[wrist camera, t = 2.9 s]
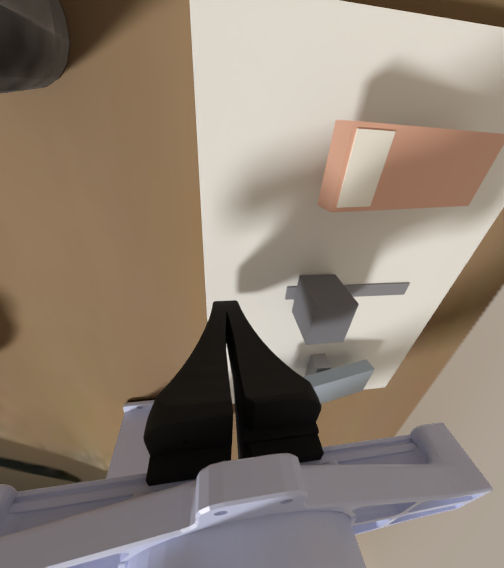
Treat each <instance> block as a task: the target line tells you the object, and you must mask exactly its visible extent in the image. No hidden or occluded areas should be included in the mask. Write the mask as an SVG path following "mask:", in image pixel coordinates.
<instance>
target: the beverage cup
mask: <svg viewBox="0 0 504 568" xmlns="http://www.w3.org/2000/svg"><path fill="white" fill-rule="evenodd" d="M69 44H70V41H69V35H68V29H67V23H66V17H65V14H64V12H63V9H62V7H61V4H60V2H59V0H0V93H8V92H15V91H23V90H28V89H36V88H43V87H47V86H48V85H50V84H51V83H53V82H54V81H56V80H57V79H59V77H60V75H61V74H62V72H63V70H64V68H65V66H66V64H67V61H68V52H69Z"/></svg>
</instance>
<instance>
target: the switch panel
mask: <svg viewBox="0 0 504 568" xmlns="http://www.w3.org/2000/svg"><path fill="white" fill-rule="evenodd" d="M190 16H191V34H192V52H193V70H194V88H195V106H196V124H197V142H198V160H199V178H200V196H201V214H202V232H203V250H204V268H205V286H206V304H207V322H208V320H209V317H210V314H211V310H212V305H213V302H214V301H231V300H237V301H238V303H239V305H240V308H241V310H242V312H243V313H244V315H245V317H246V319H247V320H248V322H249V323H250V325H251V326H252V328H253V329H254V331H255V332H256V333H257V335H258V336H259V337H260V338H261V340H262V341H263V342H264V343H265V344H266V345H267V346H268V348H269V349H270V350H271V351H272V352H273V353H274V354H275V355H276V356H277V357H279V358H280V359H281V360H282V361H283V362H284V363H285V364H286V365H287V366H289V367H290V368H291V369H292V370H294V371H295V372H296V373H298V374H299V375H301V376H302V377H304V376H307V375H311V374H314V373H318V372H322V371H325V370H329V369H333V368H336V367H340V366H344V365H347V364H351V363H354V362H358V361H362V360H365V359H367V361H368V362H369V363H370V364H371V365H372V366H373V368H374V369H375V370H374V372H373V373H372V375H371V377H370V379H369V380H368V382H367V384H366V386H365V387H364V389H372V388H381V387H386V385H387V383H388V382H389V380H390V379H391V377H392V376H393V374H394V373H395V371H396V370H397V368H398V367H399V365H400V364H401V362H402V361H403V359H404V358H405V356H406V355H407V353H408V352H409V350H410V348H411V347H412V345H413V344H414V342H415V341H416V339H417V338H418V336H419V335H420V333H421V332H422V330H423V329H424V327H425V326H426V324H427V323H428V321H429V320H430V318H431V317H432V315H433V314H434V312H435V310H436V309H437V307H438V306H439V304H440V303H441V301H442V300H443V298H444V297H445V295H446V294H447V292H448V291H449V289H450V288H451V286H452V285H453V283H454V282H455V280H456V279H457V277H458V275H459V274H460V272H461V271H462V269H463V268H464V266H465V265H466V263H467V262H468V260H469V259H470V257H471V256H472V254H473V253H474V251H475V250H476V248H477V247H478V245H479V244H480V242H481V241H482V239H483V237H484V236H485V234H486V233H487V231H488V230H489V228H490V227H491V225H492V224H493V222H494V221H495V219H496V218H497V216H498V215H499V213H500V212H501V210H502V209H503V207H504V145H503V147H502V148H501V150H500V152H499V154H498V155H497V157H496V159H495V161H494V162H493V164H492V166H491V168H490V169H489V171H488V173H487V175H486V176H485V178H484V180H483V181H482V183H481V185H480V187H479V188H478V190H477V192H476V194H475V195H474V197H473V199H472V201H471V202H470V204H469V206H455V207H434V208H413V209H393V210H372V211H351V212H329V211H327V210H325V209H324V208H322V207H320V206H318V205H317V204H318V199H319V195H320V190H321V186H322V181H323V176H324V172H325V167H326V163H327V158H328V153H329V149H330V144H331V140H332V135H333V130H334V126H335V121H336V120H350V121H363V122H374V123H386V124H397V125H409V126H420V127H431V128H443V129H454V130H466V131H477V132H488V133H500V134H504V28H502V27H496V26H490V25H484V24H478V23H472V22H466V21H460V20H454V19H448V18H442V17H436V16H430V15H424V14H418V13H412V12H406V11H400V10H394V9H388V8H382V7H376V6H370V5H364V4H358V3H352V2H346V1H340V0H190ZM325 274H335V275H336V276H337V277H338V278H339V280H340V281H341V282H342V283H343V285H344V286H345V287H346V288H347V290H348V291H349V292H350V294H351V295H352V296H353V297H354V299H355V300H356V301H357V302H358V304H359V305H358V308H357V310H356V312H355V315H354V317H353V320H352V322H351V325H350V327H349V329H348V332H347V334H346V337H345V339H344V342H338V343H325V344H311V345H306V344H305V342H304V339H303V337H302V335H301V332H300V330H299V327H298V325H297V323H296V320H295V318H294V316H293V313H292V308H293V303H294V298H295V294H296V289H297V284H298V279H299V275H325ZM226 353H227V363H228V372H229V381H230V390H231V398H232V404H234V403H235V400H234V387H233V379H232V372H231V367H230V361H229V355H228V349H227V343H226Z"/></svg>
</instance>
